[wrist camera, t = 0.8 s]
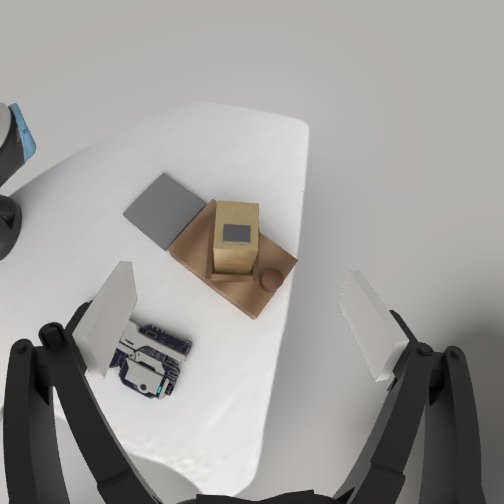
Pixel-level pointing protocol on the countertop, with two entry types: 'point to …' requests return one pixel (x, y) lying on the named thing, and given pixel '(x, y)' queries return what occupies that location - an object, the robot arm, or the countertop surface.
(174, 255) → the body
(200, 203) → the mat
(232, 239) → the labelled wooden block
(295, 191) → the countertop surface
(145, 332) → the toy gun
